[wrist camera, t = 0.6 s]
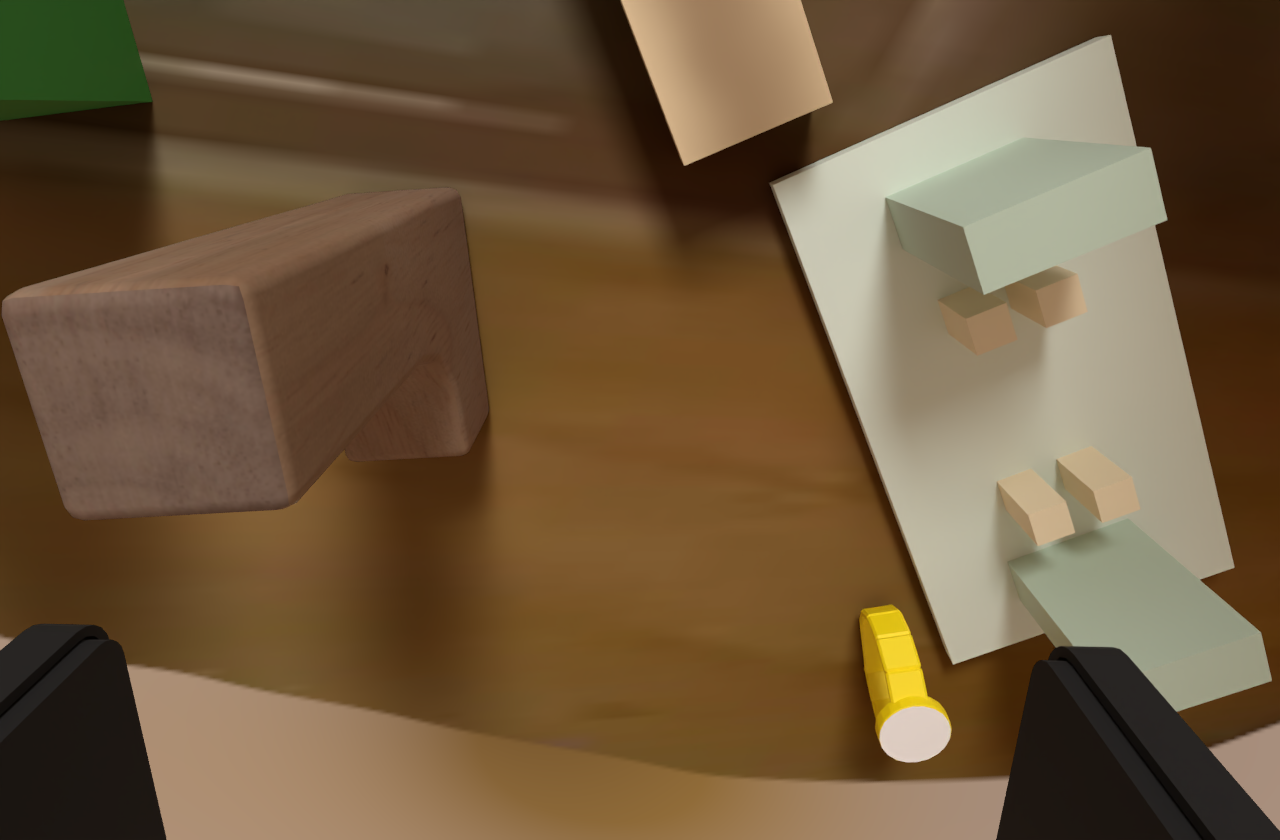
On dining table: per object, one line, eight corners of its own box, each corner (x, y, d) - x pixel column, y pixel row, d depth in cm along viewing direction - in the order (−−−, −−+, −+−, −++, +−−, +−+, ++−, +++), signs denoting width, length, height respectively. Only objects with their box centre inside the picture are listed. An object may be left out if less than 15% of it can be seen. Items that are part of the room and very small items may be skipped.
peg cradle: (1096, 37, 29) (1276, 8, 21) (1219, 555, 36) (1393, 692, 28) (769, 182, 31) (813, 210, 23) (945, 650, 38) (1030, 806, 30)
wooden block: (492, 416, 34) (340, 714, 17) (381, 422, 35) (125, 724, 18) (461, 185, 31) (241, 277, 14) (340, 193, 31) (-18, 294, 15)
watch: (911, 686, 39) (955, 791, 34) (850, 694, 39) (884, 800, 34) (903, 578, 37) (950, 672, 31) (839, 588, 37) (874, 683, 31)
